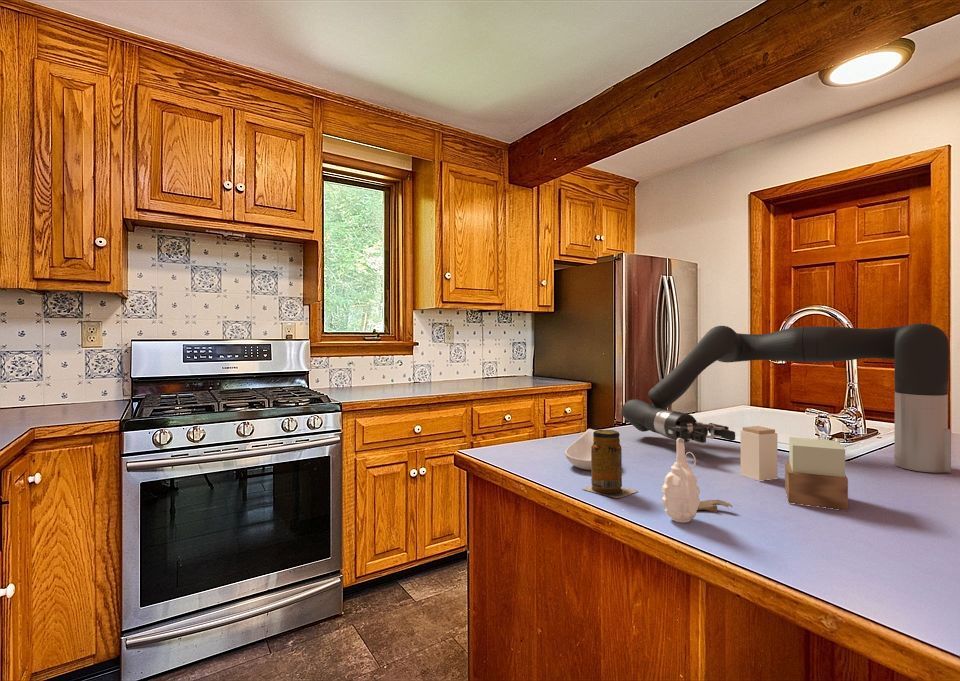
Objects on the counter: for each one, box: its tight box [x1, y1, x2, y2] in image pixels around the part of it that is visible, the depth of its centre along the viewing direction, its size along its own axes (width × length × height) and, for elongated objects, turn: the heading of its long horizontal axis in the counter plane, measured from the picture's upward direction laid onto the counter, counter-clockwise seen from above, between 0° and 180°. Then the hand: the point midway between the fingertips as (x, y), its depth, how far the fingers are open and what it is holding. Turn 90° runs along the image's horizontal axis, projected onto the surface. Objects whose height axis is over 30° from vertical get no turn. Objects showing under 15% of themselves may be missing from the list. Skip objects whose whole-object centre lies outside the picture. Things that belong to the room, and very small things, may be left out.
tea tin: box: [740, 425, 779, 481], centre depth 111 cm, size 5×5×11 cm
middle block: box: [788, 436, 846, 477], centre depth 96 cm, size 8×8×5 cm
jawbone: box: [697, 499, 733, 514], centre depth 99 cm, size 9×20×2 cm, turn 11°
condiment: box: [582, 429, 638, 499], centre depth 103 cm, size 7×8×12 cm
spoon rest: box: [564, 428, 602, 471], centre depth 127 cm, size 24×12×7 cm, turn 163°
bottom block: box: [784, 461, 849, 512], centre depth 96 cm, size 9×9×6 cm
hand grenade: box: [661, 438, 701, 524], centre depth 86 cm, size 8×6×14 cm
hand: (719, 437), depth 121 cm, fingers open, 8 cm apart
